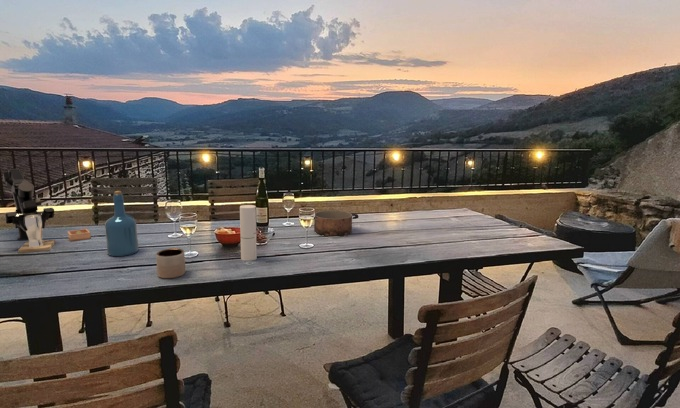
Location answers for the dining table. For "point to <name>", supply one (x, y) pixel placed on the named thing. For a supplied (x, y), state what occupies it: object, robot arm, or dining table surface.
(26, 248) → the oak board
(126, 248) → the wine bottle
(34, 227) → the metal goblet
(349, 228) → the cooking pot
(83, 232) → the terracotta dish
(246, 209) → the cylindrical container
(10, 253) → the dining table surface
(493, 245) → the dining table surface
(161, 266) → the planter
